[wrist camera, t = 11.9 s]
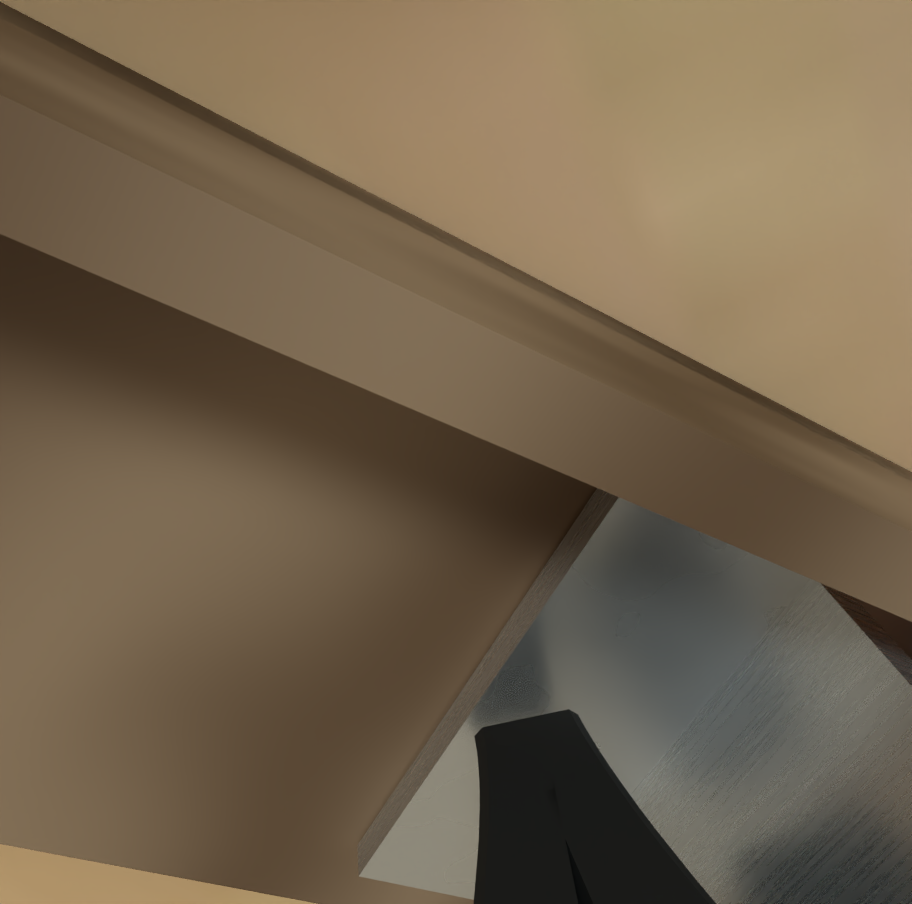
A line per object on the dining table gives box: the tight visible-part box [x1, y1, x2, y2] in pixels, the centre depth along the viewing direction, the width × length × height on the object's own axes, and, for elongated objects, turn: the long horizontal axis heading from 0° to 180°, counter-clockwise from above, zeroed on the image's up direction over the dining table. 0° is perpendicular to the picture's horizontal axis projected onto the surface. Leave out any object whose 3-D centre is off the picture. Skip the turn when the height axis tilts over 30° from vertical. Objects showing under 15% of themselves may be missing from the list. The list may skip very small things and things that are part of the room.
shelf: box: [0, 2, 912, 904], centre depth 10 cm, size 24×10×4 cm, turn 62°
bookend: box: [357, 488, 912, 904], centre depth 9 cm, size 4×7×5 cm, turn 152°
